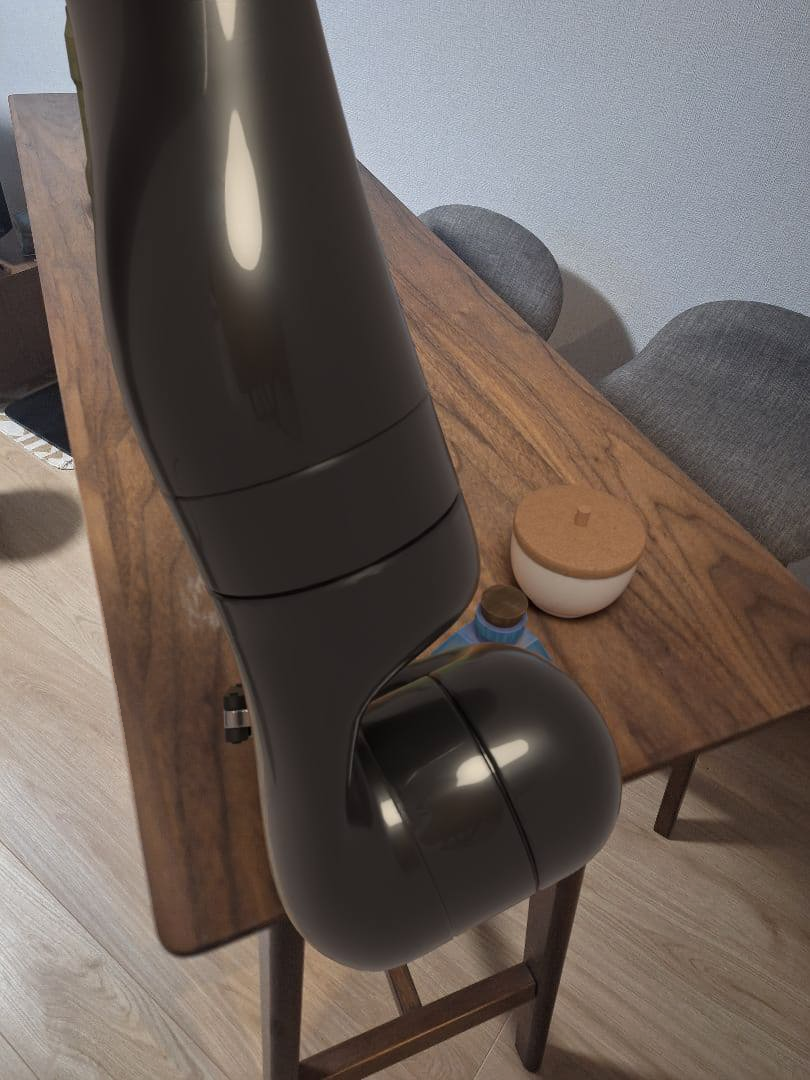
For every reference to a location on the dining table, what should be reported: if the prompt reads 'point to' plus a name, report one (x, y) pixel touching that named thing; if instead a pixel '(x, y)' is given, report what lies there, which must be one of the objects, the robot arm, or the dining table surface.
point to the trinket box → (574, 548)
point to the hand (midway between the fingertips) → (333, 689)
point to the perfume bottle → (497, 622)
